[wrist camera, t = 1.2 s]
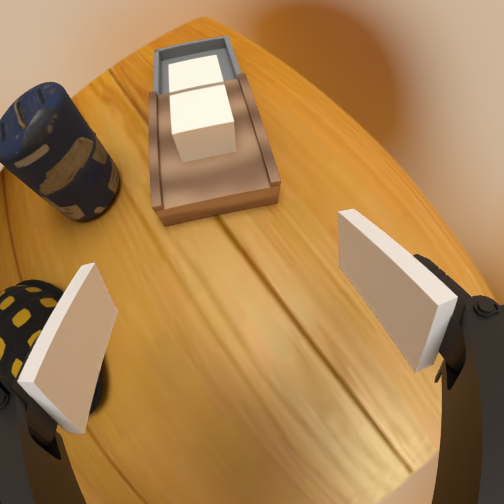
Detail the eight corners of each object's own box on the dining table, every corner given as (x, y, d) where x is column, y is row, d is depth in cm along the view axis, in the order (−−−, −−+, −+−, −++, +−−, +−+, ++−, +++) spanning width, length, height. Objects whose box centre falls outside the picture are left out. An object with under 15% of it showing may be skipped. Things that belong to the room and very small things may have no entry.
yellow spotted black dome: (-10, 234, 22) (93, 350, 19) (34, 257, 31) (136, 349, 28) (-50, 342, 18) (39, 468, 15) (-6, 347, 27) (82, 447, 24)
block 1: (226, 111, 32) (223, 81, 27) (178, 121, 32) (169, 92, 27) (219, 82, 34) (216, 54, 29) (175, 91, 33) (168, 64, 29)
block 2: (236, 151, 30) (234, 121, 25) (182, 163, 30) (172, 134, 25) (227, 114, 32) (224, 84, 27) (178, 124, 32) (169, 95, 27)
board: (277, 203, 33) (280, 180, 28) (165, 226, 32) (151, 207, 27) (245, 98, 38) (244, 72, 33) (158, 116, 37) (149, 92, 32)
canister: (116, 151, 35) (59, 56, 18) (130, 203, 33) (55, 105, 16) (61, 182, 34) (-10, 107, 17) (69, 237, 32) (-25, 168, 15)
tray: (245, 96, 38) (244, 82, 35) (158, 114, 37) (152, 100, 34) (228, 48, 42) (228, 35, 39) (158, 62, 42) (154, 50, 39)
